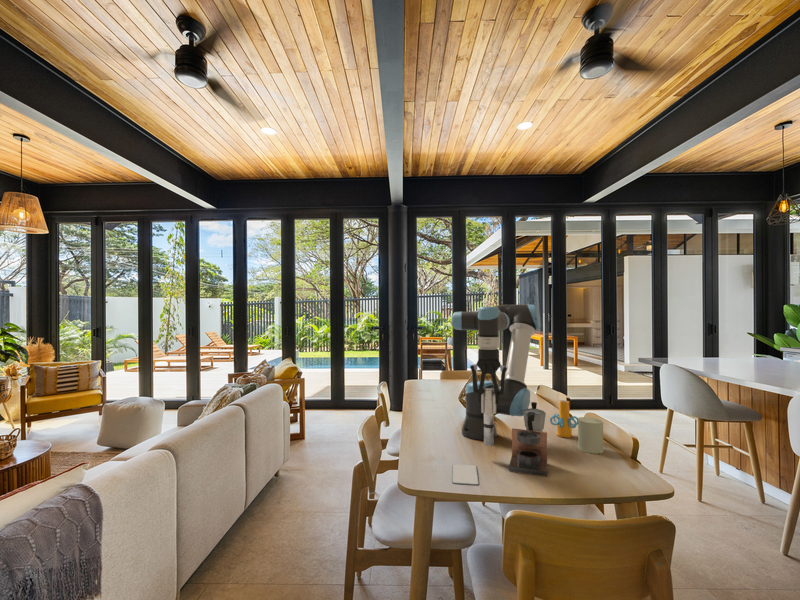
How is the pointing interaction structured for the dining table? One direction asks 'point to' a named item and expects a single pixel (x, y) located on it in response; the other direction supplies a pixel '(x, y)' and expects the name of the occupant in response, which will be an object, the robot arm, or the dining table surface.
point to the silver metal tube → (488, 417)
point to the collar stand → (529, 452)
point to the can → (590, 435)
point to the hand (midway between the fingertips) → (488, 412)
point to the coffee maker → (534, 418)
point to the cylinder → (564, 420)
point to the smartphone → (464, 474)
